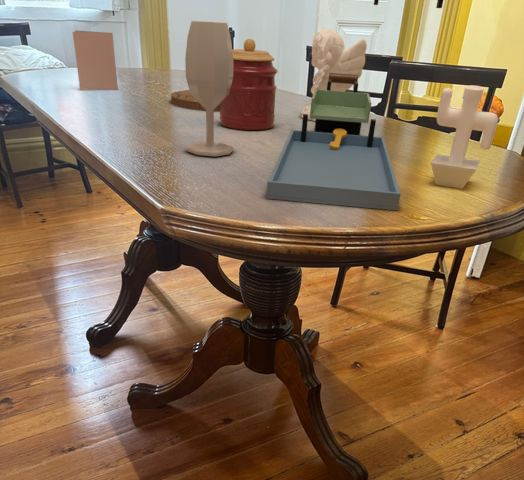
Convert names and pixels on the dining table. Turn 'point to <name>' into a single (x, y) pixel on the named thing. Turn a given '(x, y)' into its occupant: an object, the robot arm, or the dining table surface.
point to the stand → (331, 125)
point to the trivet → (188, 101)
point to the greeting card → (95, 60)
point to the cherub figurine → (334, 61)
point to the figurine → (462, 136)
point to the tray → (335, 172)
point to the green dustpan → (341, 101)
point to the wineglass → (209, 76)
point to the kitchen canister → (250, 90)
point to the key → (337, 138)
